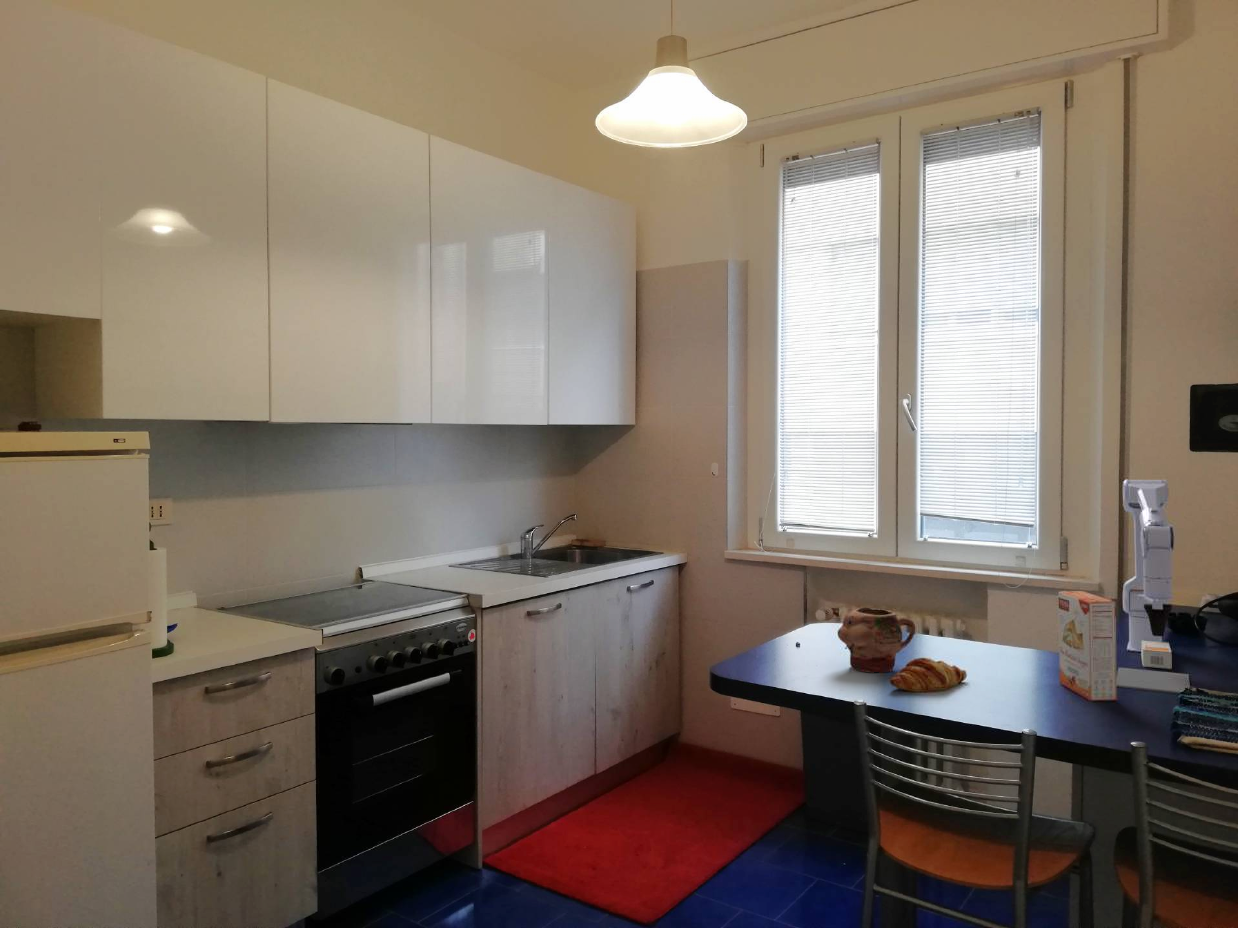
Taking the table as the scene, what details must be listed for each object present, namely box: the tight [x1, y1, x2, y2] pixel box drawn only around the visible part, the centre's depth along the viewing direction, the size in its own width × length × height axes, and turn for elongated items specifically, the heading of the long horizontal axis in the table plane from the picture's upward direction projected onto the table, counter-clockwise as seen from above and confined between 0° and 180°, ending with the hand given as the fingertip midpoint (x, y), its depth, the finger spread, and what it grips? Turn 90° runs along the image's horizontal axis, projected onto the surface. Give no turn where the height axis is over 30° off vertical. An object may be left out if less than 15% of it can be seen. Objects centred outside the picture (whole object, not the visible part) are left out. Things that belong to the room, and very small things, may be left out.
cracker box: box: [1058, 590, 1118, 702], centre depth 194 cm, size 14×6×21 cm, turn 178°
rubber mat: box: [1116, 667, 1191, 695], centre depth 203 cm, size 18×14×1 cm
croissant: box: [889, 657, 968, 693], centre depth 201 cm, size 21×10×8 cm, turn 115°
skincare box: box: [1140, 640, 1173, 670], centre depth 220 cm, size 6×4×12 cm
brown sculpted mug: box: [837, 607, 916, 673], centre depth 218 cm, size 20×12×14 cm, turn 108°
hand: (1157, 635), depth 211 cm, fingers closed
